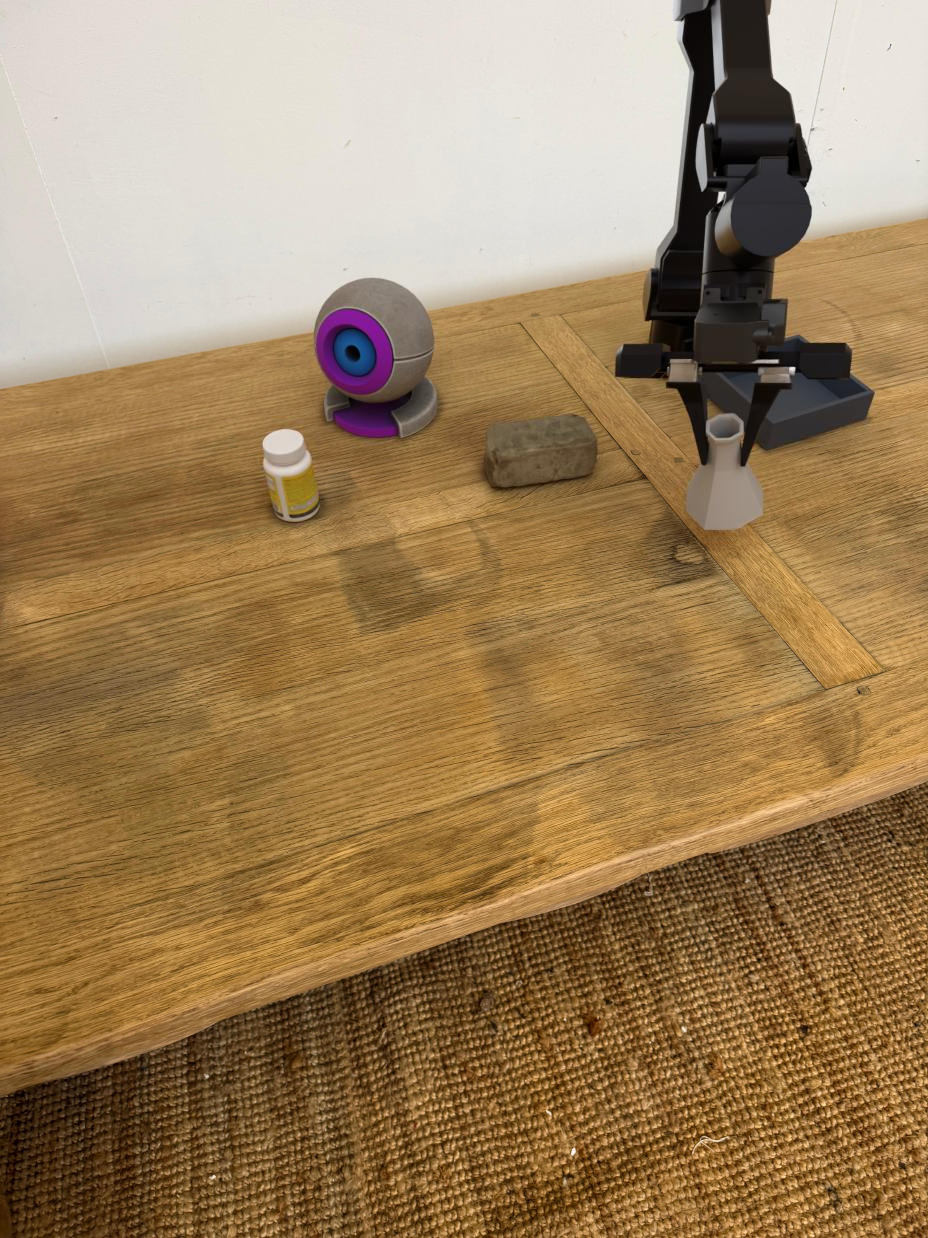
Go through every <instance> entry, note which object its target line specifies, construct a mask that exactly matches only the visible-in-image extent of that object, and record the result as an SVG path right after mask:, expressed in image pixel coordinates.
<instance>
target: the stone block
mask: <svg viewBox="0 0 928 1238" xmlns="http://www.w3.org/2000/svg"><path fill="white" fill-rule="evenodd" d="M484 444H485V446H484V447H485V448H484V456H483V461H482V463H483V467H484V472H485V474H486V475H487V477H488V478H487V479H488V481H489V483H490V485H491V486H492V487H494V488H495V487H498V488H510V487H511V488H512V487H517V488H518V487H524V486H529V485H537V484H538V485H539V484H544V483H549V482H557V481H560V480H570V479H575V478H581V477H585V476H587V475H590V474H591V473H593V471H594V469H595V465H596V463H597V458H598V437H597V435H596V434H595V431H594V429H593V428H592V426H591V425H590V423H589V422H588V420H587V418H586V417H585V416H580V415H578V414H575V413H568V414H563V415H551V416H545V417H538V418H534V419H533V418H531V419H525V420H518V421H505V422H502V423H493V424H492V425H488V426H487V427H486V430H485V443H484Z"/></svg>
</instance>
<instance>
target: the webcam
mask: <svg viewBox="0 0 928 1238" xmlns="http://www.w3.org/2000/svg"><path fill="white" fill-rule="evenodd" d="M315 319H316V320H315V323H314V327H313V349H314V354H315V358H316V361H317V364H318V366H319V368H320V370H321V372H322V373H323V375H324V377H325V378H326V380H327V381H328V382H329V383H330V384H331V385H329V387H328V388H327V390H326V391H325V394H324V397H323V411H324V417H325V419H326V422H332V421H334V422H335V423H336V425H337V426H339V427H340V428H341V429H343V430H344V431H346V432H348V433H350V434H354V435H356V436H360V437H366V438H386V437H392V436H397V435H398V436H399V438H400V439H403V438H406V437H408V436H411V435H414V434H416V433H417V432H419V431H421V430H422V429H424V428H425V427H426V426H428V425H429V424H430V423H431V422H432V421H433V419H434V418H435V416H436V414H437V412H438V408H439V402H438V401H439V400H438V399H439V398H438V393H437V389H436V386H435V385H434V383H433V382H432V380H431V379H429V377H428V376H426V374H427V372H428V370H429V369H430V367H431V364H432V361H433V356H434V352H435V334H434V328H433V324H432V320H431V318H430V315H429V313H428V311H427V310H426V308H425V306H424V305H423V303H422V302H421V300H420V299H419V298H418V296H416V295H415V294H414V293H413V292H412V291H411V290H409V289H408V288H406V287H404V286H403V285H401V284H400V283H397V282H395V281H392V280H389V279H386V278H382V277H362V278H359V279H354V280H352V281H349V282H347V283H345V284H344V285H341V286H339V287H338V288H337V289H336V290H334V291H333V292H332V293H331V294H330V295H329V297H328V298H326V300H325V301H324V303H323V304H322V306H321V307H320V309H319V311H318V314H317V316H316V318H315Z"/></svg>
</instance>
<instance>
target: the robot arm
mask: <svg viewBox="0 0 928 1238" xmlns="http://www.w3.org/2000/svg"><path fill="white" fill-rule="evenodd" d="M771 8H772V0H673V3H672V19H673V20H672V21H674V22H677V31H676V41H677V44H678V46H679V48H680V51H681V53H682V55H683V58H684V61H685V62H686V65H687V67H688V70H689V71H688V73H689V74H688V81H687V91H686V101H685V109H684V111H685V112H684V119H683V120H684V121H683V130H682V140H681V149H680V158H679V167H678V179H677V187H676V196H675V207H674V215H673V216H674V217H673V225H672V226H671V228H669V231H668V232H667V234H666V235H665V236H664V238H663V240H661V242H660V244H659V245H658V246H657V248H656V251H655V260H654V267H649V269H648V272H647V274H646V277H645V279H644V281H643V286H642V287H643V289H642V300H641V302H642V309H643V310H642V312H643V317H644V322H650V329H649V335H648V336H649V337H648V343H623V344H622V345H621V346H620V347H619V348H618V350H617V351H616V355H615V365H614V378H620V379H644V380H645V379H647V380H648V379H649V380H650V379H652V380H654V379H659V380H660V379H662V378H667V381H665V388H666V389H671V390H677V392H678V394H679V396H680V399H681V400H682V402H683V403H682V404H683V405H684V408H685V410H686V413H687V415H688V418H689V421H690V425H691V429H692V432H693V437H694V441H695V445H696V448H697V453H698V457H699V461H700V463H701V465H704V466H706V465H707V456H708V443H709V437H708V436H707V435H706V421H707V420H709V414H708V411H709V410H708V397H707V384H706V383H701V376H703V377H704V373H758V377H761V379H760V383H755V384H754V390H753V396H752V401H751V407H750V411H749V416H748V420H747V425H746V430H745V431H744V434H743V440H742V443H741V446H742V449H741V462H740V466H741V467H745V466H746V463H747V461H748V460H749V458H750V456H751V453H752V451H753V448H754V445H755V443H756V438H757V436H758V433H759V431H760V428H761V426H762V424H763V421H764V419H765V417H766V415H767V413H768V412H769V410H770V408H771V406H772V404H773V403H774V401H775V399H776V397H777V395H778V394H779V392H780V391H781V390H792V388H793V383H791V380H792V377H795V373H802V374H803V375H804V376H805V377H806V378H807V379H808V380H847V379H849V378H850V373H851V369H852V360H853V349H852V348H851V347H850V346H849V344H848V343H847V342H810V343H801V348H800V351H767V349H768V346H783V345H784V341H785V338H786V332H787V320H788V305H789V298H773V289H774V277H775V265H776V259H777V258H779V257H780V256H782V255H784V254H785V253H787V252H789V251H791V250H792V249H793V248H794V247H796V246H797V245H798V244H800V242H801V241H802V239H803V238H804V237H805V235H806V234H807V232H808V229H809V228H810V225H811V222H812V221H811V220H812V215H813V206H812V204H811V200H810V196H809V194H808V192H807V190H806V188H807V186H808V183H809V181H810V178H811V174H812V171H813V165H812V160H811V157H810V154H809V150H808V146H807V143H806V139H805V138H804V137H803V130H802V129H803V128H802V125H801V123H800V122H797V120H796V113H795V108H794V102H793V98H792V97H793V96H792V93H791V92H790V91H789V90H788V89H787V88H785V87H784V86H783V85H782V84H781V83H779V82H778V81H777V80H776V79H775V78H774V74H773V72H774V71H773V66H772V65H773V63H772V51H771V39H770V37H771V36H770V25H769V15H771V11H772V9H771ZM720 193H723V195H722V197H721V201H719V195H720Z"/></svg>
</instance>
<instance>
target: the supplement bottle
mask: <svg viewBox="0 0 928 1238" xmlns="http://www.w3.org/2000/svg"><path fill="white" fill-rule="evenodd" d="M262 450H263V455H264V457H263V460H262V467H263V471H264V475H265V476H264V477H265V479H266V484H267V487H268V492H269V497H270V500H271V505H272V508H273V512H274V514H275V515H276V517H278V519H280V520H282V521H285V522H289V523H290V522H291V523H297V522H298V523H300V522H305V521H306V520H309V519H311V518H313V516H315V515H316V514H317V513H318V511H319V510H320V506H321V501H320V493H319V490H318V484H317V479H316V474H315V473H316V472H315V468H314V464H313V459H312V455H311V453H310V452H309V450H307V446H306V442H305V439H304V436H303V434H302V433H301V432H299V431H297V430H295V429H291V428H282V429H277V430H274V431H272V432H270V433H269V434H267V435H266V436H265V437H264V438H263V440H262Z"/></svg>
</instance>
